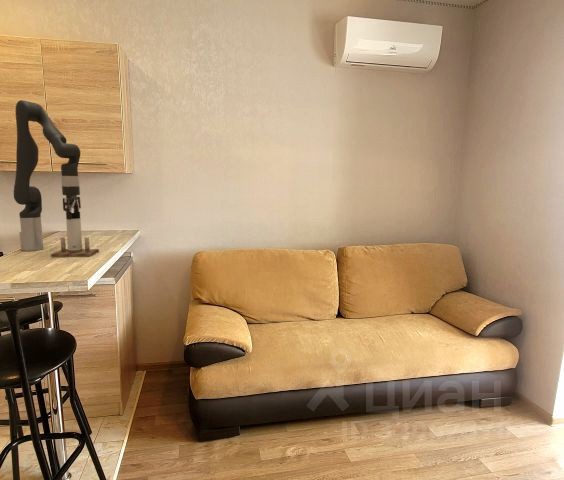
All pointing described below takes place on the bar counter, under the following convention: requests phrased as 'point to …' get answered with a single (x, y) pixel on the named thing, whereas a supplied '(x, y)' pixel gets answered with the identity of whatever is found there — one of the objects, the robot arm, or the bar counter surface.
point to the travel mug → (74, 233)
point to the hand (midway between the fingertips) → (73, 218)
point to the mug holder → (84, 253)
